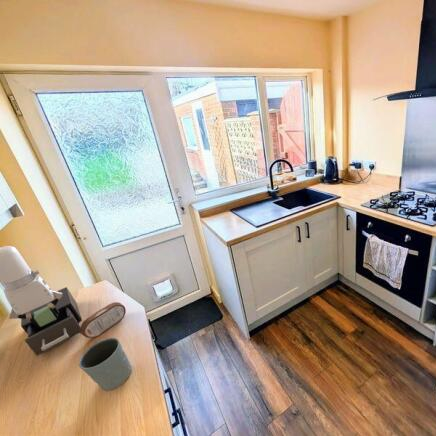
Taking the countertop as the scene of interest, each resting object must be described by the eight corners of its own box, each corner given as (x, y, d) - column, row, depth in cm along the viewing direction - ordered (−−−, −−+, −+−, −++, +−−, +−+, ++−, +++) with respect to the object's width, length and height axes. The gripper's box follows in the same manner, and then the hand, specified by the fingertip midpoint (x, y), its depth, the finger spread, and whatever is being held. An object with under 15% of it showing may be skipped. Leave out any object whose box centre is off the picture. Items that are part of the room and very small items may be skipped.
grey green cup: (139, 371, 79) (125, 345, 73) (105, 401, 71) (86, 375, 66) (125, 356, 84) (110, 332, 79) (91, 383, 77) (72, 358, 72)
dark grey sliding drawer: (85, 339, 92) (75, 324, 88) (37, 366, 83) (24, 351, 80) (77, 313, 105) (68, 299, 102) (35, 334, 97) (24, 319, 93)
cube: (40, 327, 88) (33, 318, 86) (40, 320, 91) (33, 312, 89) (56, 319, 91) (50, 310, 89) (55, 313, 94) (49, 305, 92)
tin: (126, 312, 104) (118, 297, 100) (130, 315, 102) (122, 299, 98) (85, 340, 92) (74, 324, 89) (89, 344, 91) (78, 327, 87)
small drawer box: (82, 320, 102) (70, 302, 98) (35, 344, 93) (20, 326, 89) (76, 303, 113) (66, 286, 109) (34, 323, 104) (21, 306, 99)
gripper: (51, 264, 91) (74, 302, 98) (-16, 290, 80) (16, 329, 88) (52, 272, 86) (77, 310, 93) (-19, 300, 75) (16, 341, 83)
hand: (47, 319), depth 91 cm, fingers closed on cube, 4 cm apart
